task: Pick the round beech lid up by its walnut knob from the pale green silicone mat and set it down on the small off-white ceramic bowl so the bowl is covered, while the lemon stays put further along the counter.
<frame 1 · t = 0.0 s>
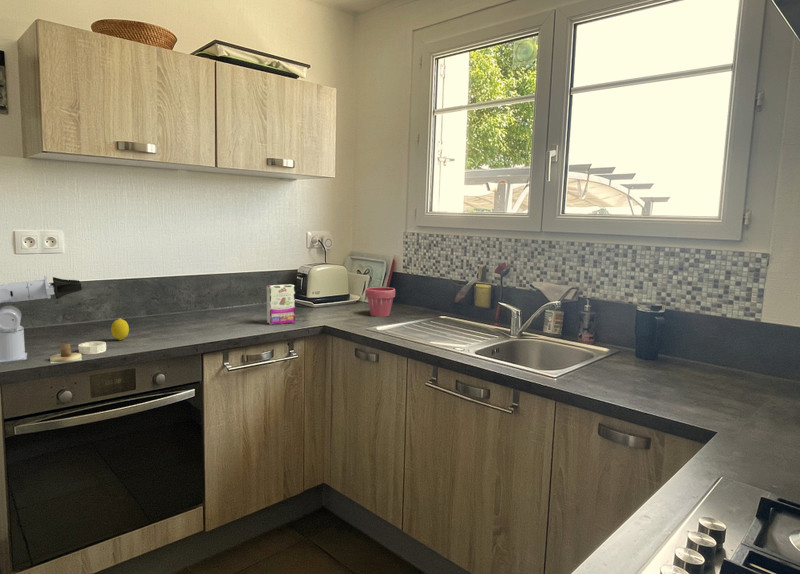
hand: (80, 285, 170), 22 cm above the worktop, tool horizontal, fingers open, 7 cm apart
candy bar box: (280, 323, 229), on the worktop
bowl: (92, 352, 173), on the worktop
plant pot: (379, 315, 256), on the worktop
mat: (66, 359, 164), on the worktop
lid: (66, 358, 164), resting on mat
lemon: (120, 341, 190), on the worktop
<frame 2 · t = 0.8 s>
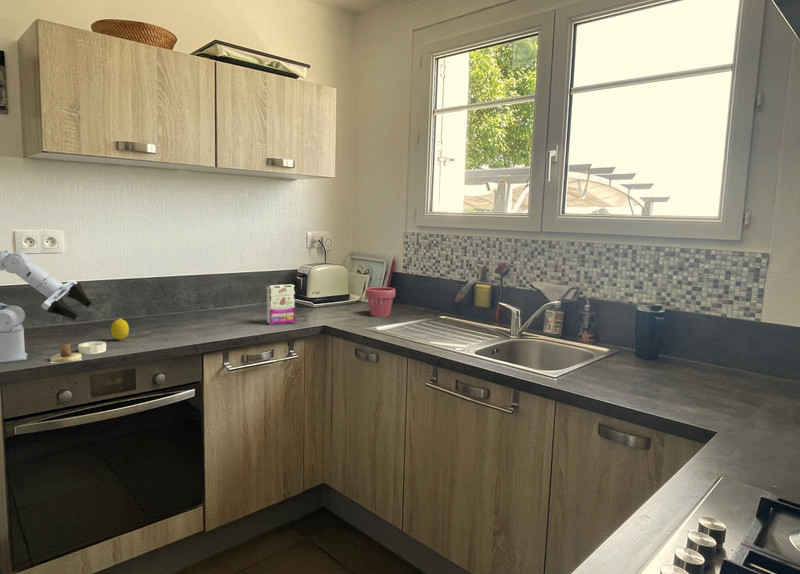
hand: (83, 311, 167), 14 cm above the worktop, tool tilted 50°, fingers open, 7 cm apart
nothing on the worktop moved.
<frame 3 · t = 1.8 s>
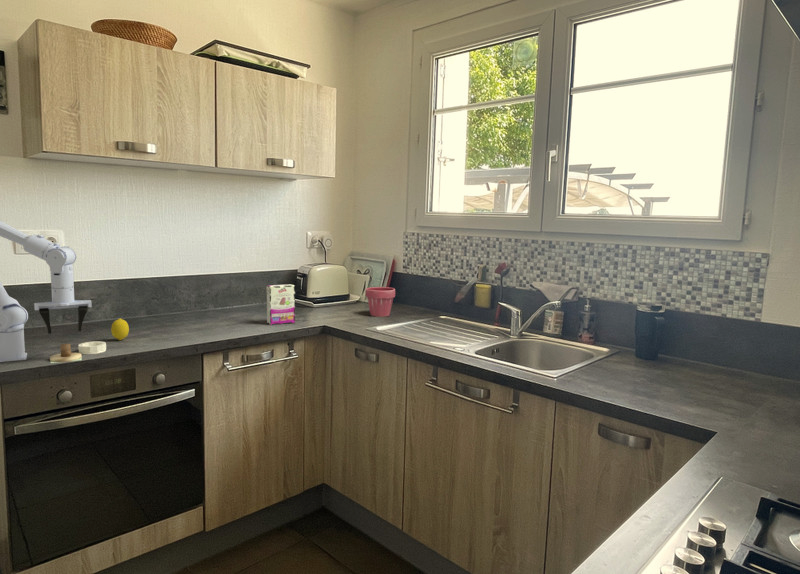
hand: (64, 331, 163), 9 cm above the worktop, tool pointing down, fingers open, 7 cm apart
nothing on the worktop moved.
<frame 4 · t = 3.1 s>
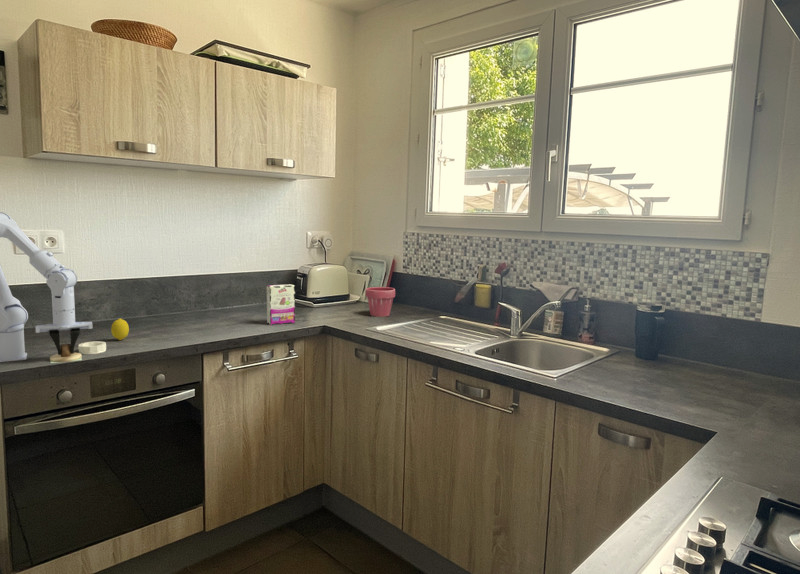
hand: (65, 353, 163), 2 cm above the worktop, tool pointing down, fingers closed on lid, 3 cm apart
lid: (66, 358, 164), resting on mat, touching gripper
everything else where it was.
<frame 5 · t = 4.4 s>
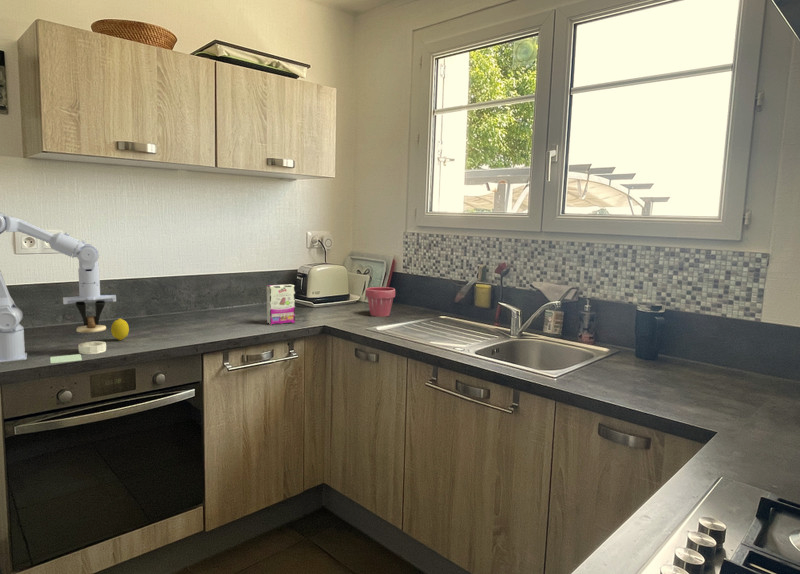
hand: (91, 324, 172), 9 cm above the worktop, tool pointing down, fingers closed on lid, 3 cm apart
lid: (91, 329, 172), point 7 cm above the worktop, touching gripper
everything else where it was.
when the fingers open (5 cm above the worktop, at t = 5.5 s): lid stays where it is, resting on bowl.
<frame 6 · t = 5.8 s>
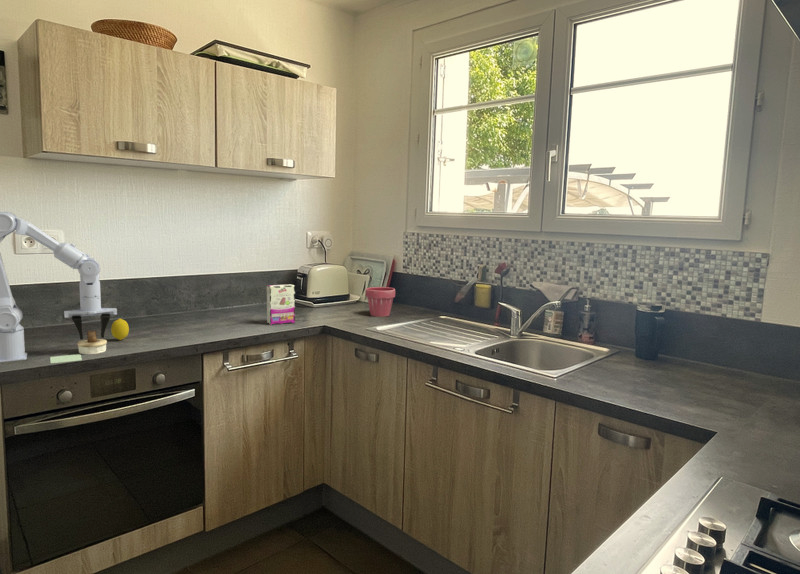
hand: (92, 338, 173), 5 cm above the worktop, tool pointing down, fingers open, 5 cm apart
lid: (92, 344, 173), point 3 cm above the worktop, touching bowl
everything else where it was.
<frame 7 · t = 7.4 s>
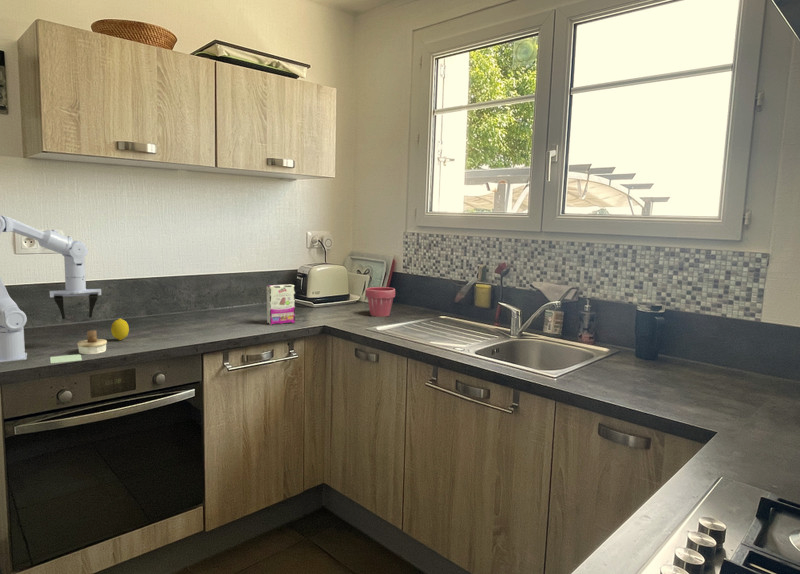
hand: (77, 317, 178), 10 cm above the worktop, tool pointing down, fingers open, 7 cm apart
nothing on the worktop moved.
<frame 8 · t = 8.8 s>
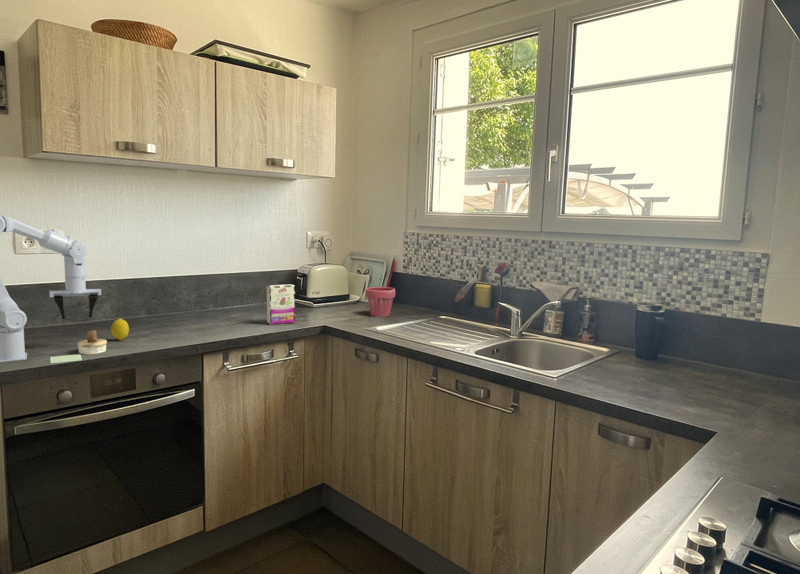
hand: (77, 317, 178), 10 cm above the worktop, tool pointing down, fingers open, 7 cm apart
nothing on the worktop moved.
at the end: lid 0.1 cm off-centre on the bowl, point 2.6 cm above the bowl's base; lid tilted 0°; the gripper is holding nothing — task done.
